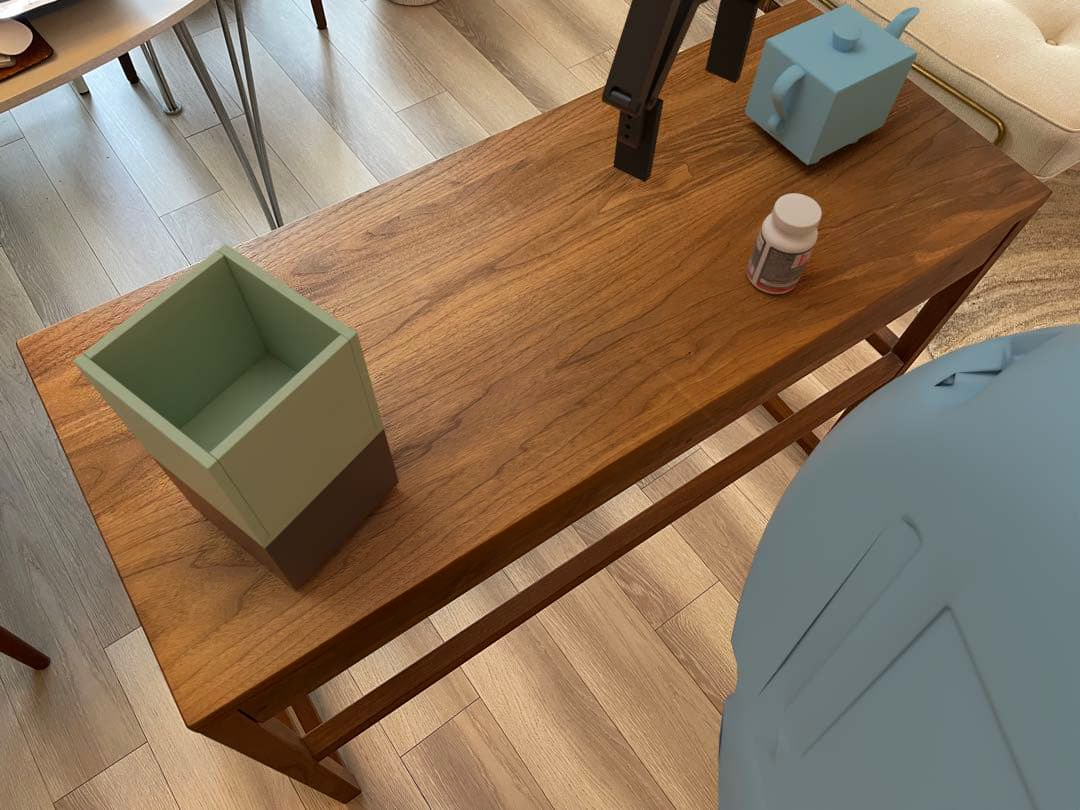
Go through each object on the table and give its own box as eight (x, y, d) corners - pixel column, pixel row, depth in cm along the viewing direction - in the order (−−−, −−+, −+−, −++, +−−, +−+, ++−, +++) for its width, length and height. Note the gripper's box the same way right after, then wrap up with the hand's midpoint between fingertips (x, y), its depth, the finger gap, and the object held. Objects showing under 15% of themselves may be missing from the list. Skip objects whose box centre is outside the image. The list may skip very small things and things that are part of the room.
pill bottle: (808, 280, 87) (839, 214, 79) (772, 304, 85) (801, 239, 77) (770, 248, 90) (796, 181, 81) (734, 271, 88) (758, 205, 79)
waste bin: (296, 592, 68) (207, 469, 48) (193, 506, 71) (71, 360, 52) (399, 482, 73) (357, 332, 54) (298, 408, 77) (225, 243, 57)
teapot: (786, 185, 95) (825, 85, 83) (724, 132, 100) (752, 30, 88) (910, 119, 102) (962, 18, 90) (847, 73, 107) (888, -29, 95)
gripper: (785, -299, 49) (715, 22, 67) (552, -134, 38) (544, 195, 56) (901, -268, 47) (796, 56, 65) (688, -84, 36) (634, 242, 54)
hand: (679, 121), depth 61 cm, fingers open, 13 cm apart
